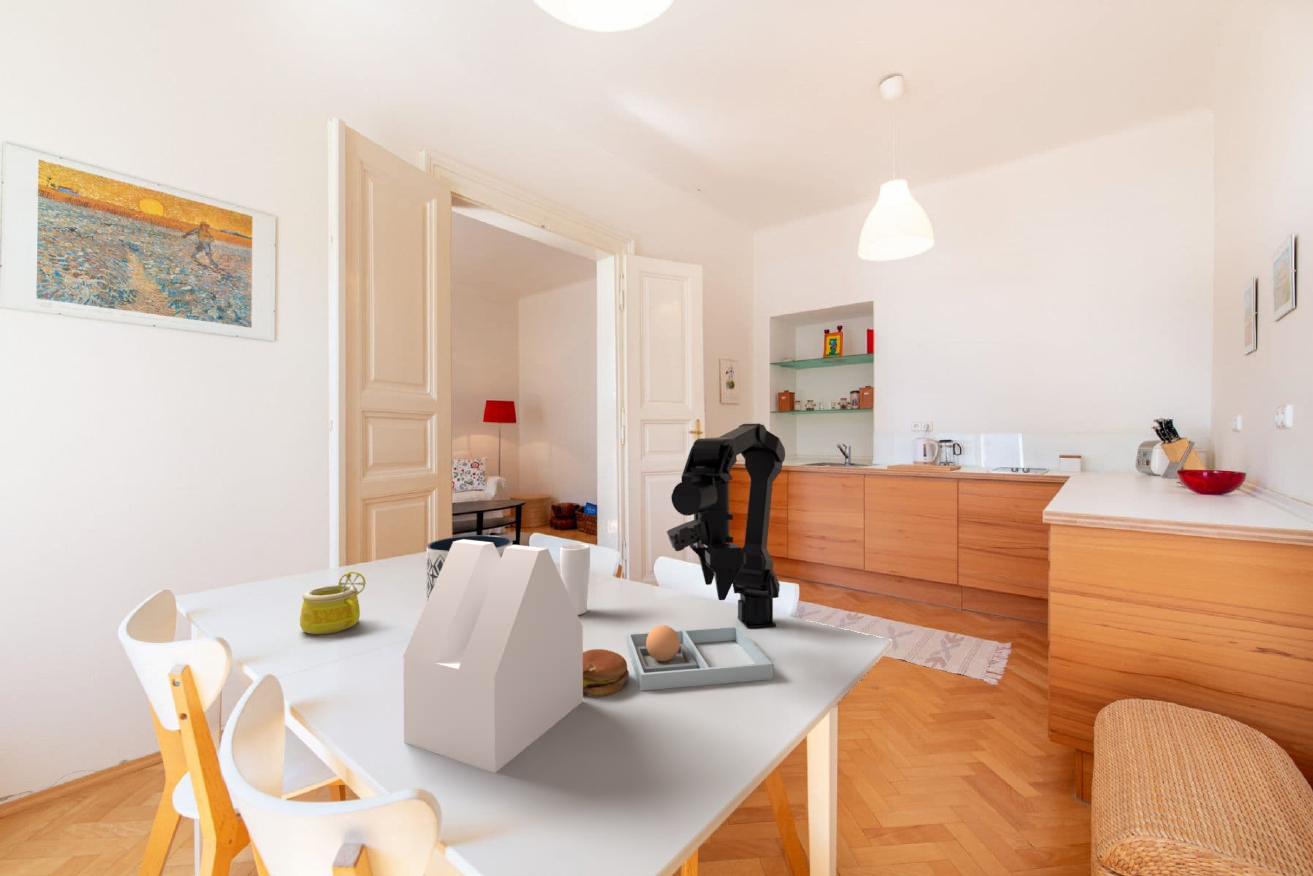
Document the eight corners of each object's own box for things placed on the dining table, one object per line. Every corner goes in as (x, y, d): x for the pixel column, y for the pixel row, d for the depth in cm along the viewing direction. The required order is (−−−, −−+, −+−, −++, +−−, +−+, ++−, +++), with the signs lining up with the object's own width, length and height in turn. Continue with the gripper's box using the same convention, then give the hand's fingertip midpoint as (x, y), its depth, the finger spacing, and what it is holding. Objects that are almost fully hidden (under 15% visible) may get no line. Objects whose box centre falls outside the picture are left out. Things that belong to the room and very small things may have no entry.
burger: (623, 669, 94) (623, 642, 94) (632, 694, 85) (632, 665, 85) (566, 674, 92) (565, 647, 92) (568, 701, 83) (567, 670, 83)
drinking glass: (593, 608, 126) (592, 543, 126) (586, 617, 120) (586, 550, 120) (564, 607, 127) (564, 543, 127) (556, 617, 120) (556, 549, 120)
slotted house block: (494, 773, 65) (493, 565, 65) (403, 743, 71) (403, 553, 71) (582, 702, 82) (582, 537, 82) (503, 682, 89) (502, 530, 89)
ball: (677, 659, 99) (674, 624, 101) (684, 660, 93) (681, 623, 95) (644, 662, 98) (643, 627, 100) (650, 663, 92) (647, 626, 94)
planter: (529, 611, 124) (529, 540, 124) (463, 637, 109) (463, 555, 109) (477, 599, 134) (476, 532, 134) (409, 620, 118) (408, 545, 118)
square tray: (684, 651, 101) (684, 643, 101) (697, 673, 92) (697, 665, 92) (633, 655, 99) (633, 647, 99) (641, 678, 90) (641, 669, 90)
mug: (286, 633, 111) (286, 575, 111) (336, 616, 121) (335, 563, 121) (330, 642, 106) (330, 581, 106) (378, 624, 116) (378, 568, 116)
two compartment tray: (737, 638, 107) (737, 626, 107) (772, 679, 90) (772, 664, 90) (626, 646, 103) (626, 633, 103) (640, 690, 86) (640, 674, 86)
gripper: (661, 501, 107) (662, 580, 108) (680, 518, 89) (682, 612, 89) (716, 499, 109) (717, 576, 109) (746, 515, 90) (747, 607, 91)
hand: (714, 591), depth 100 cm, fingers open, 9 cm apart
